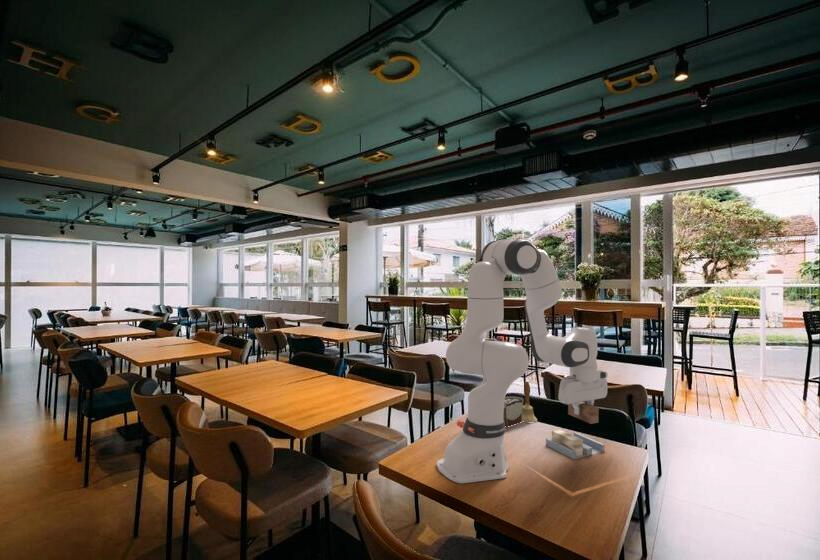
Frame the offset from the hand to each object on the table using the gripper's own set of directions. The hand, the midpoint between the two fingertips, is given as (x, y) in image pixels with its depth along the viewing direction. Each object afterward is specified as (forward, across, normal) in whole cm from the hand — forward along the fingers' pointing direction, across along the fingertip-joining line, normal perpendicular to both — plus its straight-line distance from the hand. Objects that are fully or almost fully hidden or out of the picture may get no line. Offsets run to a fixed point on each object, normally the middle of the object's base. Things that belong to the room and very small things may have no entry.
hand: (582, 413), depth 134 cm
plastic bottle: (+12, -17, +32) cm, 38 cm away
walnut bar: (+2, 0, 0) cm, 2 cm away
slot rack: (+12, -4, 0) cm, 13 cm away
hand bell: (+13, +2, +30) cm, 33 cm away
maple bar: (+11, -8, 0) cm, 14 cm away
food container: (+13, -8, +30) cm, 33 cm away
